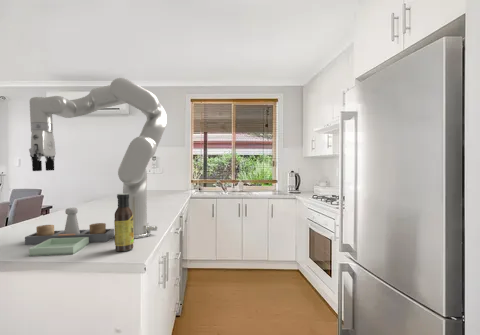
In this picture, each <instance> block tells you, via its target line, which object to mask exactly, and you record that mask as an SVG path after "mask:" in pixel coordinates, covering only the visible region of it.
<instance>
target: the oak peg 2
mask: <svg viewBox="0 0 480 335" xmlns="http://www.w3.org/2000/svg"><path fill="white" fill-rule="evenodd" d="M106 227H107V224H106V223H105V222H104V223H103V222H96V223H91V224H89V230H90V234H105V233H106V229H107V228H106Z"/></svg>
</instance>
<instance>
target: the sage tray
mask: <svg viewBox="0 0 480 335" xmlns="http://www.w3.org/2000/svg"><path fill="white" fill-rule="evenodd" d="M89 244H90V242H89V237H78V238H51V239H48V240H46V241H44V242H42V243H40V244H35V245H33V246H32V247H29V248H28V249H29V250H28V255H29V257H40V256H62V255H63V256H65V255H67V256H68V255H75V254H76V253H78V252H79V251H80V250H83V248H85V247H86V246H88V245H89Z"/></svg>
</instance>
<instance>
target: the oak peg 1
mask: <svg viewBox="0 0 480 335" xmlns="http://www.w3.org/2000/svg"><path fill="white" fill-rule="evenodd" d="M35 230H36V232H37V236H51V235H53V234H54V231H55V224H44V225H43V224H42V225H38V226H36V229H35Z"/></svg>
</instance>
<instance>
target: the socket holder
mask: <svg viewBox="0 0 480 335" xmlns="http://www.w3.org/2000/svg"><path fill="white" fill-rule="evenodd" d="M64 230H65V229H64ZM64 230H54V234H53V235H51V236H37V231H36V232H33V233H31V234H28V235H26V236H25V237H24V245H25V246H26V245H27V246H28V245H30V246H31V245H33V246H34V245H38V244H40V243H42V242H44V241H46V240H48V239H51V238H78V237H89V243H102V242H103V243H105V242H108V241H110V240H111V239H112V238H113V237H115V228H106V233H105V234H90V229H79V230H80V234H78V235H76V234H64Z"/></svg>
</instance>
